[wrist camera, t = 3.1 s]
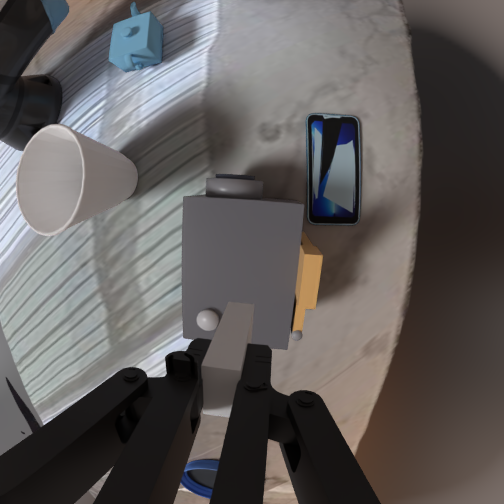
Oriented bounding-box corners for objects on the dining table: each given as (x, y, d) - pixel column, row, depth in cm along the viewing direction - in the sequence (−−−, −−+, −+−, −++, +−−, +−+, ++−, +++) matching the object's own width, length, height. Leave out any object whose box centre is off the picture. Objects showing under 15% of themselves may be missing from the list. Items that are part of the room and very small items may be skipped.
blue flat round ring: (171, 473, 53) (168, 482, 50) (200, 448, 49) (197, 459, 46) (231, 496, 54) (229, 506, 51) (269, 475, 50) (268, 486, 47)
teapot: (133, 25, 32) (113, 5, 25) (166, 15, 31) (149, -8, 24) (128, 82, 34) (103, 66, 27) (163, 72, 34) (142, 53, 27)
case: (207, 176, 37) (182, 171, 27) (297, 181, 36) (307, 178, 26) (203, 305, 41) (181, 340, 31) (285, 313, 40) (287, 352, 30)
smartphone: (306, 224, 37) (305, 112, 33) (306, 223, 38) (304, 114, 34) (359, 225, 36) (359, 116, 33) (357, 224, 37) (357, 117, 34)
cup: (163, 149, 36) (99, 130, 21) (141, 228, 39) (73, 252, 24) (100, 134, 36) (28, 119, 21) (82, 206, 39) (9, 219, 24)
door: (294, 230, 37) (304, 254, 24) (305, 231, 37) (322, 255, 24) (286, 304, 40) (290, 359, 26) (297, 305, 40) (306, 359, 26)
